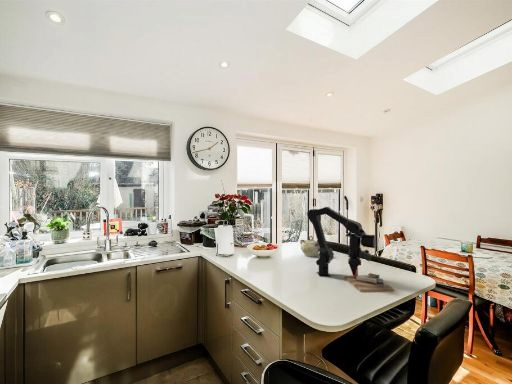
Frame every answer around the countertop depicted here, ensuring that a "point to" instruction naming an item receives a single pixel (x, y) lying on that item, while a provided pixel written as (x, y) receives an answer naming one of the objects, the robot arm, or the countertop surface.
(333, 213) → the robot arm
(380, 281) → the lever
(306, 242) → the sugar bowl
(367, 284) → the cracker base
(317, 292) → the countertop surface
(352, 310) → the countertop surface
